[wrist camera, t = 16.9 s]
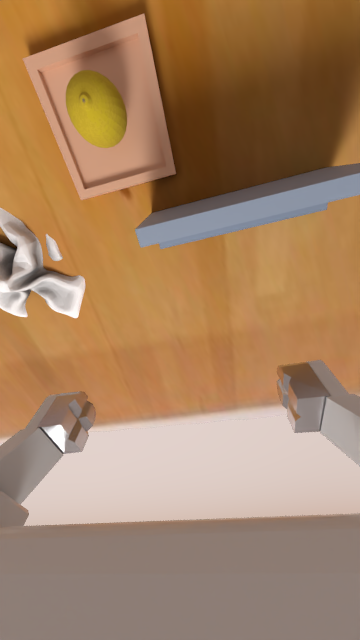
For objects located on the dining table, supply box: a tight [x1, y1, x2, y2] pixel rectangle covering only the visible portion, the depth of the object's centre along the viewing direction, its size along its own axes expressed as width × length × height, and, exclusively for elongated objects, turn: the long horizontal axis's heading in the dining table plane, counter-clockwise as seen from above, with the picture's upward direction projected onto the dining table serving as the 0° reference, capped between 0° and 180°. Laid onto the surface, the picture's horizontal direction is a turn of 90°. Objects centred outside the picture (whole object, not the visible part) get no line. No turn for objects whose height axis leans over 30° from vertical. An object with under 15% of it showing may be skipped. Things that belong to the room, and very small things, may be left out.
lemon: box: [66, 70, 127, 148], centre depth 22 cm, size 6×6×8 cm
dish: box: [23, 14, 176, 200], centre depth 26 cm, size 13×13×2 cm
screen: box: [135, 163, 360, 249], centre depth 25 cm, size 24×5×14 cm, turn 103°
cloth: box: [0, 208, 85, 318], centre depth 33 cm, size 22×19×6 cm
